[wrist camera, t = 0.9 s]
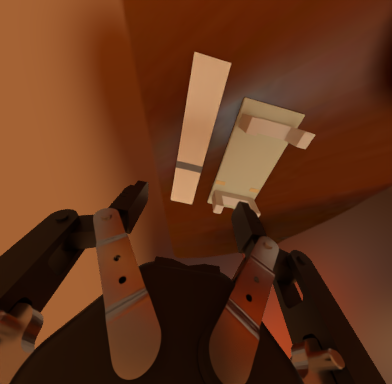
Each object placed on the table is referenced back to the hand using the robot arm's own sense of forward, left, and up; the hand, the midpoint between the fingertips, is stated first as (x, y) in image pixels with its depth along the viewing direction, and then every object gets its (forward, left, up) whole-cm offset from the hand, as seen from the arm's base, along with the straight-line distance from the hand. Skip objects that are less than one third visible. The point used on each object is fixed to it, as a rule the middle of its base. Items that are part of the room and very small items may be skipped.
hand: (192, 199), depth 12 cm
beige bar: (0, -1, -17) cm, 17 cm away
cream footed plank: (+2, +10, -17) cm, 20 cm away
